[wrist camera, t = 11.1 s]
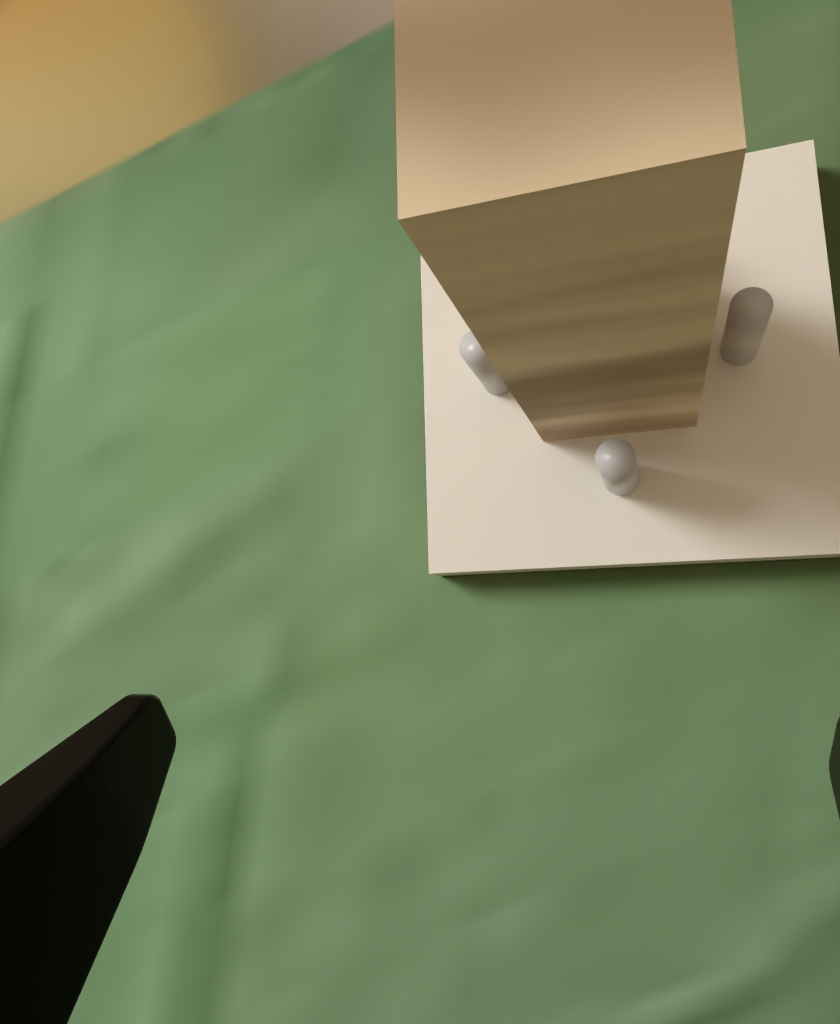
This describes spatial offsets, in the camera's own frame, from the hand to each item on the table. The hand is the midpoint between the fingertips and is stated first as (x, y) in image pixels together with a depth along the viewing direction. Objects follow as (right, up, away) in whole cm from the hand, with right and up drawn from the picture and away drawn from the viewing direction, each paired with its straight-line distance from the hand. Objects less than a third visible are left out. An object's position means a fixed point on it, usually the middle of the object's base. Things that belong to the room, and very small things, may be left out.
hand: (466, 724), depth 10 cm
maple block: (+5, +7, +12) cm, 15 cm away
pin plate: (+6, +7, +13) cm, 16 cm away
